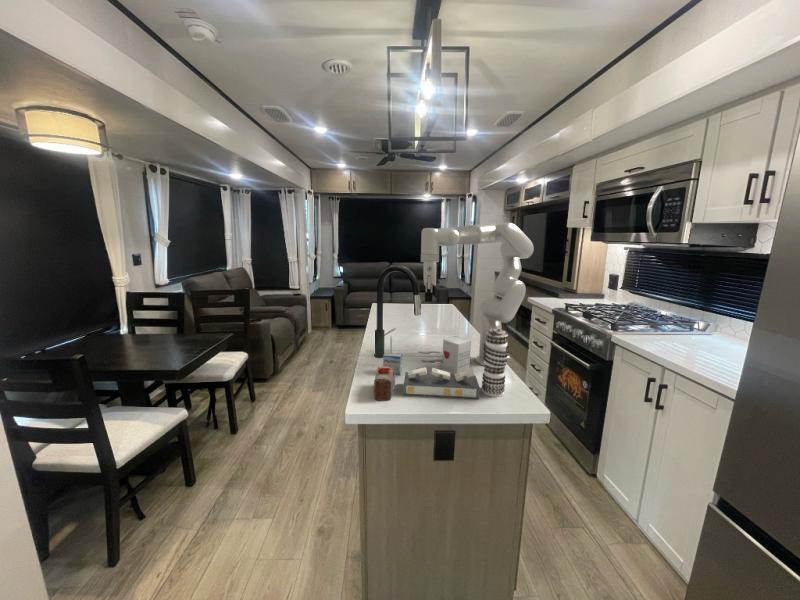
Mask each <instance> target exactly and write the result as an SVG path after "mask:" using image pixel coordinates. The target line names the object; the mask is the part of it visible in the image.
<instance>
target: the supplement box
mask: <svg viewBox="0 0 800 600" xmlns="http://www.w3.org/2000/svg"><path fill="white" fill-rule="evenodd" d="M442 341H443V343H442V345H443V346H442V360H441V361H442V363H441V364H442V366H441V367H442V368H441V370H442V371H446V372H449V373H450V374H458V373H460V372H462V371H466V370H468V369H470V364H471V363H470V362H471V346H472V340H470V339H467V338H464V337H461V336H458V335H454V336H451V337H445V338H443V340H442Z"/></svg>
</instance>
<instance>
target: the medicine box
mask: <svg viewBox="0 0 800 600" xmlns="http://www.w3.org/2000/svg"><path fill="white" fill-rule="evenodd" d="M383 366H386V367H390V368H392V369H393V371H395V376H401V374H402V371H403V369H402V368H403V353H397V352H384V353H383V356H382V367H383Z"/></svg>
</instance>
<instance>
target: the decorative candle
mask: <svg viewBox="0 0 800 600" xmlns="http://www.w3.org/2000/svg"><path fill="white" fill-rule="evenodd" d="M486 334H487V336H486V342H485V343H484V348H483V349H484V353H483V354H484V356H483V357H484V358H483V359H484V364H485V366H484V368H483V373H482V381H481V383H482V385H481V391H482V393H483V394H484V395H486V396H489V397H494V398H495V397H496V398H498V397H502V396H504V394H505V387H506V384H505V383H506V371H505V370H506V368H505V367H506V366H507V362H508V360H507V359H505V357H507V356H509V355H508V354H509V350H508V348H509V347H510V345H508V336H509V334H508V333H507V332H506V330H504V328H503V329H498V328H492V329H490V330H489V331H488V332H486ZM485 353H486V354H485Z"/></svg>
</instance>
